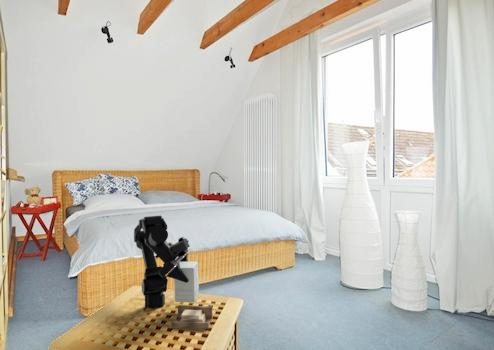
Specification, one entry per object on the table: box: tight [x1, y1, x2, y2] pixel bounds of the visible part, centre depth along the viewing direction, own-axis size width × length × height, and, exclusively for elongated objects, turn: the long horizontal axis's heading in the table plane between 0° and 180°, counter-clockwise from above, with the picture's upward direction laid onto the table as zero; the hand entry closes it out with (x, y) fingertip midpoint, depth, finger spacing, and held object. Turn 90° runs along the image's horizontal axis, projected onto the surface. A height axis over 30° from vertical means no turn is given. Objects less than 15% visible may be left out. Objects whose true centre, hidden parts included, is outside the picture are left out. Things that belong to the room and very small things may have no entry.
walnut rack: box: [171, 304, 213, 330], centre depth 113 cm, size 12×8×5 cm, turn 85°
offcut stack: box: [180, 310, 206, 322], centre depth 112 cm, size 8×5×4 cm, turn 85°
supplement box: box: [173, 261, 200, 303], centre depth 121 cm, size 7×7×13 cm
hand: (190, 277), depth 121 cm, fingers closed on supplement box, 7 cm apart
